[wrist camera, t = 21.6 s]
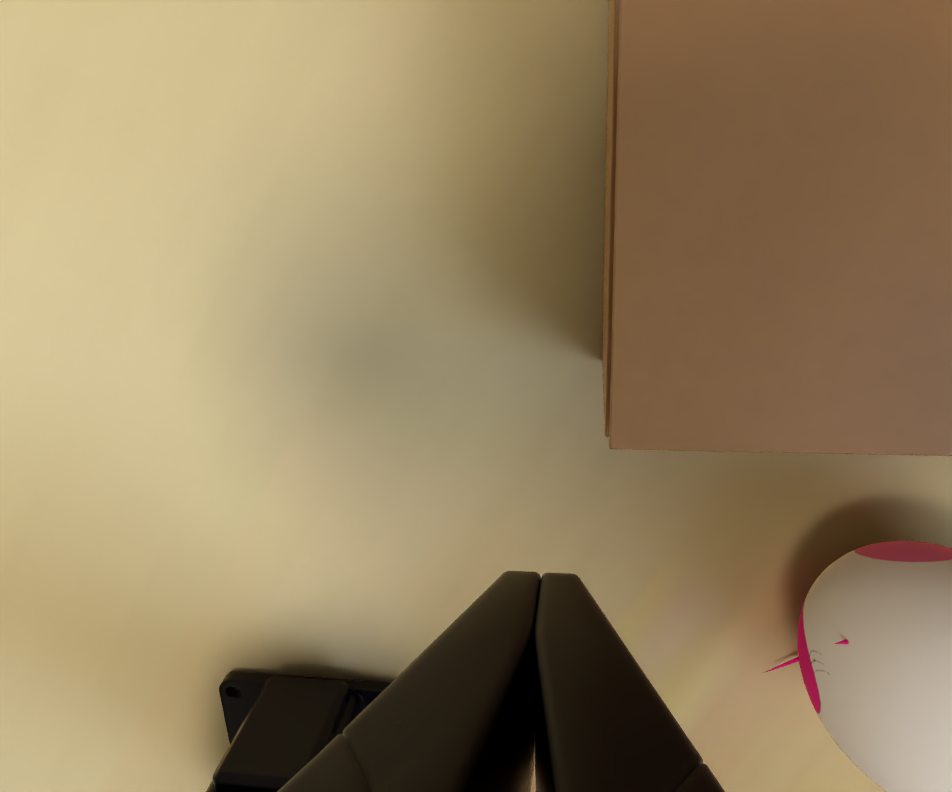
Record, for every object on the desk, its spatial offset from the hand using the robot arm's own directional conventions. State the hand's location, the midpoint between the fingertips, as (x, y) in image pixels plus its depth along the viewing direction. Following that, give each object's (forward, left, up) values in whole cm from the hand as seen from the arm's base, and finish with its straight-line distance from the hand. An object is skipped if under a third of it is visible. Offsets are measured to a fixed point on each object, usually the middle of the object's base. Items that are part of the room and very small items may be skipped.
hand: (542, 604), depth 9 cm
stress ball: (-9, -9, -12) cm, 17 cm away
